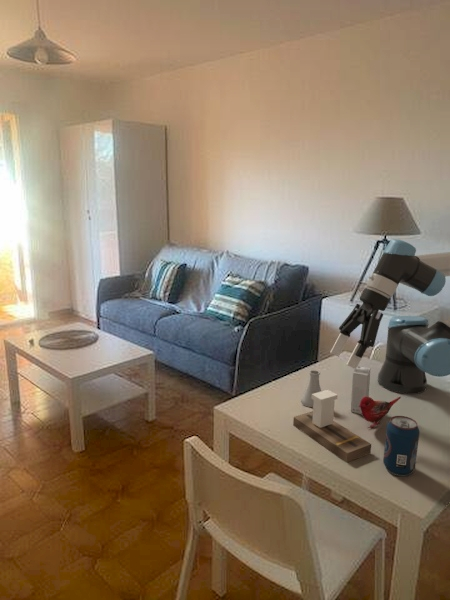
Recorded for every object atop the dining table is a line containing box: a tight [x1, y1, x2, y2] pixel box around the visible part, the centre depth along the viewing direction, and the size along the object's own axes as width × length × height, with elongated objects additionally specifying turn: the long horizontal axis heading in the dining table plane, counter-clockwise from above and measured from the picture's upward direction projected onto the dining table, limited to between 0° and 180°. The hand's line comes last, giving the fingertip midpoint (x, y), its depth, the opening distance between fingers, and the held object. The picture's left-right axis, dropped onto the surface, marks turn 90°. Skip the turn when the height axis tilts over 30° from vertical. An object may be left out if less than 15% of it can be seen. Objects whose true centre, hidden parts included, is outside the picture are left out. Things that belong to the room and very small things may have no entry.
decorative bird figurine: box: [359, 396, 402, 429], centre depth 124 cm, size 3×18×10 cm, turn 123°
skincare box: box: [350, 366, 371, 415], centre depth 133 cm, size 6×4×12 cm
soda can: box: [383, 415, 420, 477], centre depth 105 cm, size 7×7×12 cm
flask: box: [300, 369, 322, 408], centre depth 137 cm, size 7×7×10 cm
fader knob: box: [311, 389, 338, 428], centre depth 119 cm, size 4×6×8 cm, turn 120°
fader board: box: [292, 410, 372, 463], centre depth 118 cm, size 20×8×3 cm, turn 30°
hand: (342, 360), depth 129 cm, fingers open, 13 cm apart
